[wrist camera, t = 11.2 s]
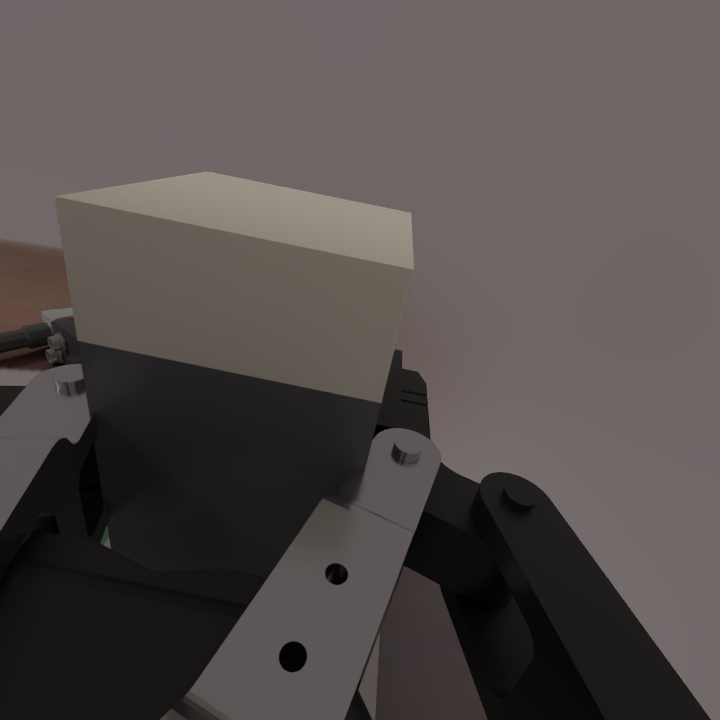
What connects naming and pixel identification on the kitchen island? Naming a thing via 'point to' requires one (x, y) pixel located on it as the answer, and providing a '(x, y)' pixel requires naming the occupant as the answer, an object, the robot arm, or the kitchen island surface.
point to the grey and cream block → (229, 357)
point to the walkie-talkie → (47, 337)
